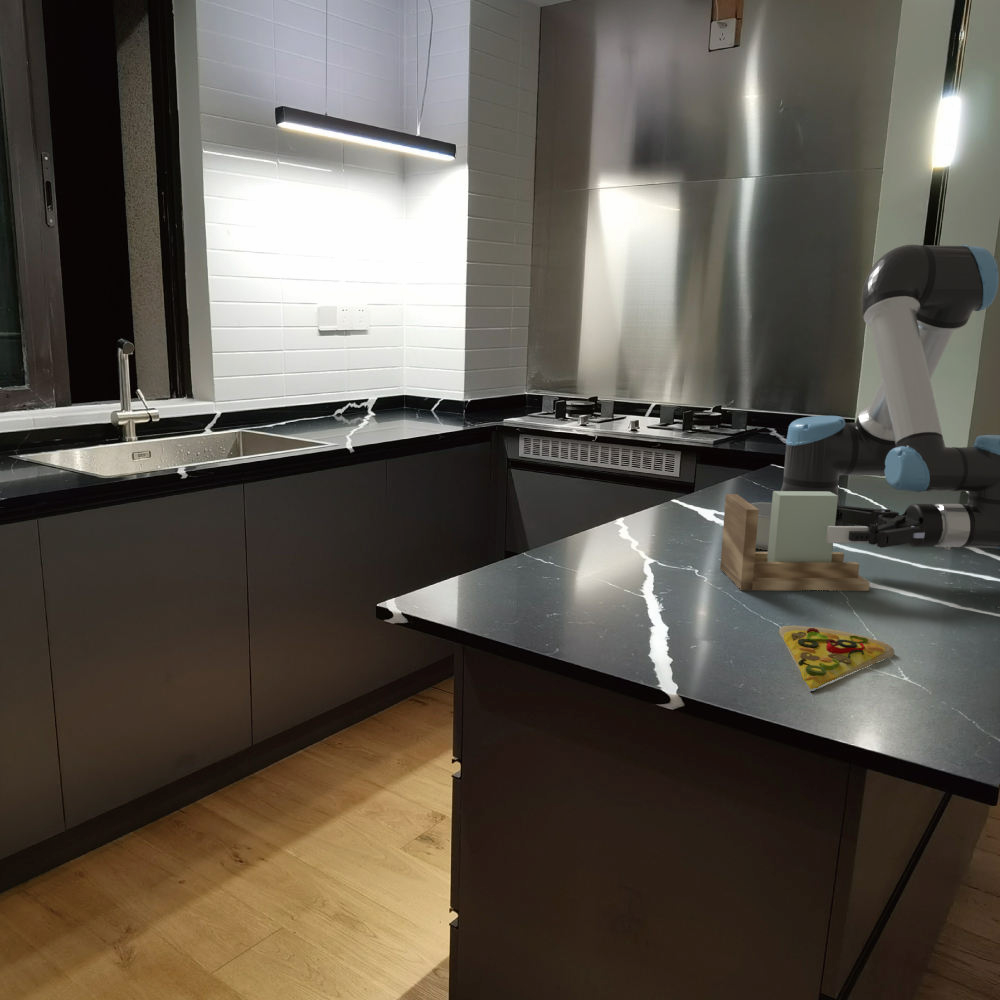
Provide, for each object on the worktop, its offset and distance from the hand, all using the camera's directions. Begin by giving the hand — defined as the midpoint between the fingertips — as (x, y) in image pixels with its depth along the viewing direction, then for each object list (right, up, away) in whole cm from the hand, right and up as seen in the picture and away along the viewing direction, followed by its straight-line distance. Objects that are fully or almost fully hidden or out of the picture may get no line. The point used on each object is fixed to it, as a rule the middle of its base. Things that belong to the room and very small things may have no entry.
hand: (812, 524), depth 150 cm
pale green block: (-2, -8, +2) cm, 9 cm away
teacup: (-2, -5, +24) cm, 24 cm away
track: (-3, -10, +2) cm, 10 cm away
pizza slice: (-11, -19, -34) cm, 40 cm away
